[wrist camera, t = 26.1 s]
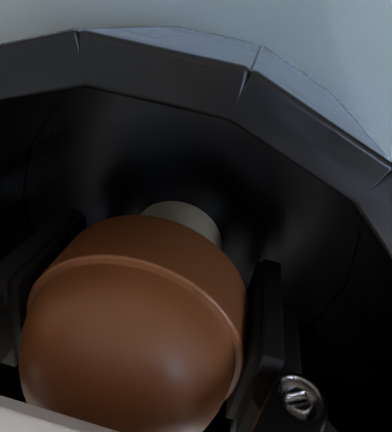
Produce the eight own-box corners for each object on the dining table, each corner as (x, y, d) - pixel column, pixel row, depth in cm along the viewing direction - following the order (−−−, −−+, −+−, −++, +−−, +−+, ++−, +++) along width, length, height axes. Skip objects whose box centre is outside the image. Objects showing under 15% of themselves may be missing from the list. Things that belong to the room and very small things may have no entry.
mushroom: (109, 152, 12) (-81, 303, 6) (273, 193, 12) (276, 408, 5) (102, 278, 15) (-28, 473, 9) (233, 314, 15) (202, 548, 8)
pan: (-7, -15, 11) (-296, -56, 5) (472, 89, 10) (731, 174, 4) (24, 311, 18) (-84, 437, 13) (301, 391, 17) (316, 567, 12)
